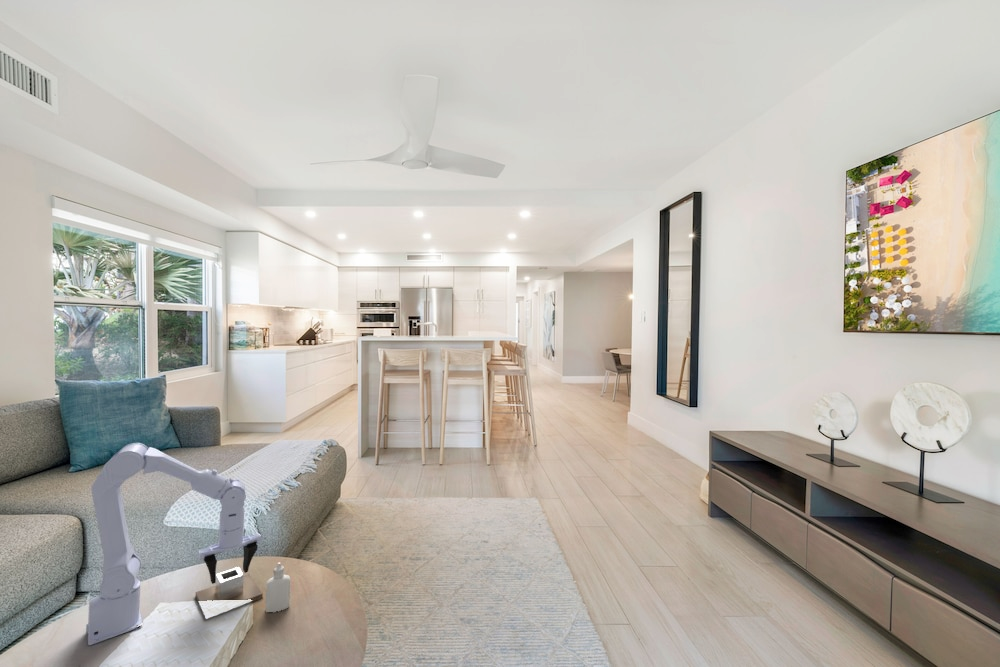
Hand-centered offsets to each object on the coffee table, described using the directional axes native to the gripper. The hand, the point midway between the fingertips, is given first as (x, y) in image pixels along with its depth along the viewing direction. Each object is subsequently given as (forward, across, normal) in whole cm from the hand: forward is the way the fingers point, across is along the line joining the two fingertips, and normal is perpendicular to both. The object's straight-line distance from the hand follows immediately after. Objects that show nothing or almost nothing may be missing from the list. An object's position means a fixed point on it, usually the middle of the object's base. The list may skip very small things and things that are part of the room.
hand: (229, 576), depth 113 cm
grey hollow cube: (+5, 0, 0) cm, 5 cm away
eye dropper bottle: (+6, -8, +14) cm, 17 cm away
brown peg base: (+6, 0, 0) cm, 6 cm away
